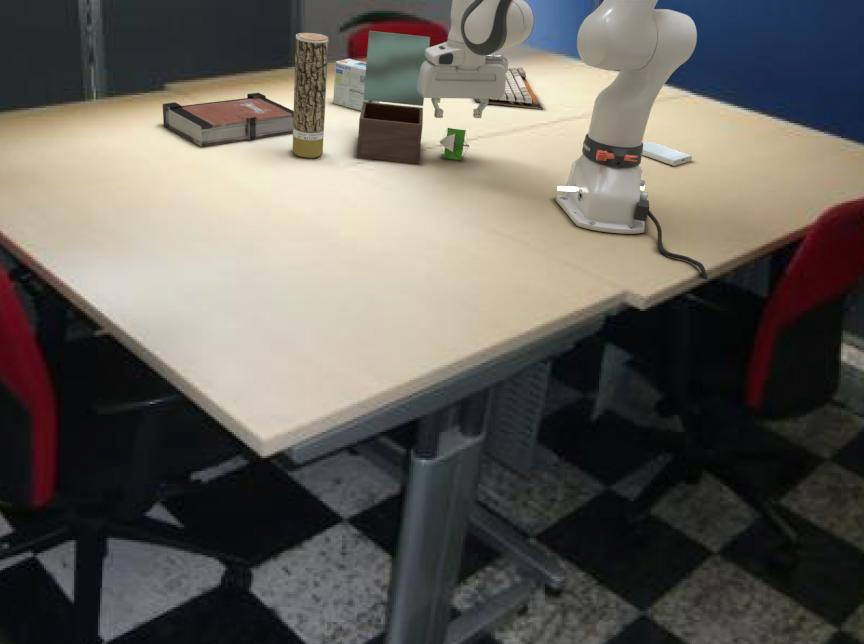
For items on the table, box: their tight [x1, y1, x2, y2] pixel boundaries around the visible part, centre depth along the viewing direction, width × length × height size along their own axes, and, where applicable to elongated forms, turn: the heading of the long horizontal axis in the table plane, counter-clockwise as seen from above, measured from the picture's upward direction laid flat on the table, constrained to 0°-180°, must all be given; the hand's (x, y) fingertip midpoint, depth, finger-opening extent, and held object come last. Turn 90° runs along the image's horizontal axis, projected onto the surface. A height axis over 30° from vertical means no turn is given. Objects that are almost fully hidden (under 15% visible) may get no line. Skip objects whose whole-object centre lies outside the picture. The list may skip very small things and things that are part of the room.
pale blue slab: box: [363, 30, 431, 107], centre depth 208 cm, size 15×14×1 cm
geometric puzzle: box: [439, 127, 470, 161], centre depth 208 cm, size 7×7×8 cm
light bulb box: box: [332, 58, 380, 112], centre depth 235 cm, size 11×7×11 cm, turn 58°
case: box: [356, 102, 424, 165], centre depth 207 cm, size 14×14×9 cm
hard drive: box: [642, 140, 693, 167], centre depth 226 cm, size 2×8×12 cm
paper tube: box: [292, 32, 329, 159], centre depth 195 cm, size 7×7×25 cm
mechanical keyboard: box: [474, 66, 543, 110], centre depth 267 cm, size 38×19×3 cm, turn 2°
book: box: [162, 92, 294, 148], centre depth 210 cm, size 26×18×5 cm
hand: (457, 117), depth 205 cm, fingers open, 8 cm apart
